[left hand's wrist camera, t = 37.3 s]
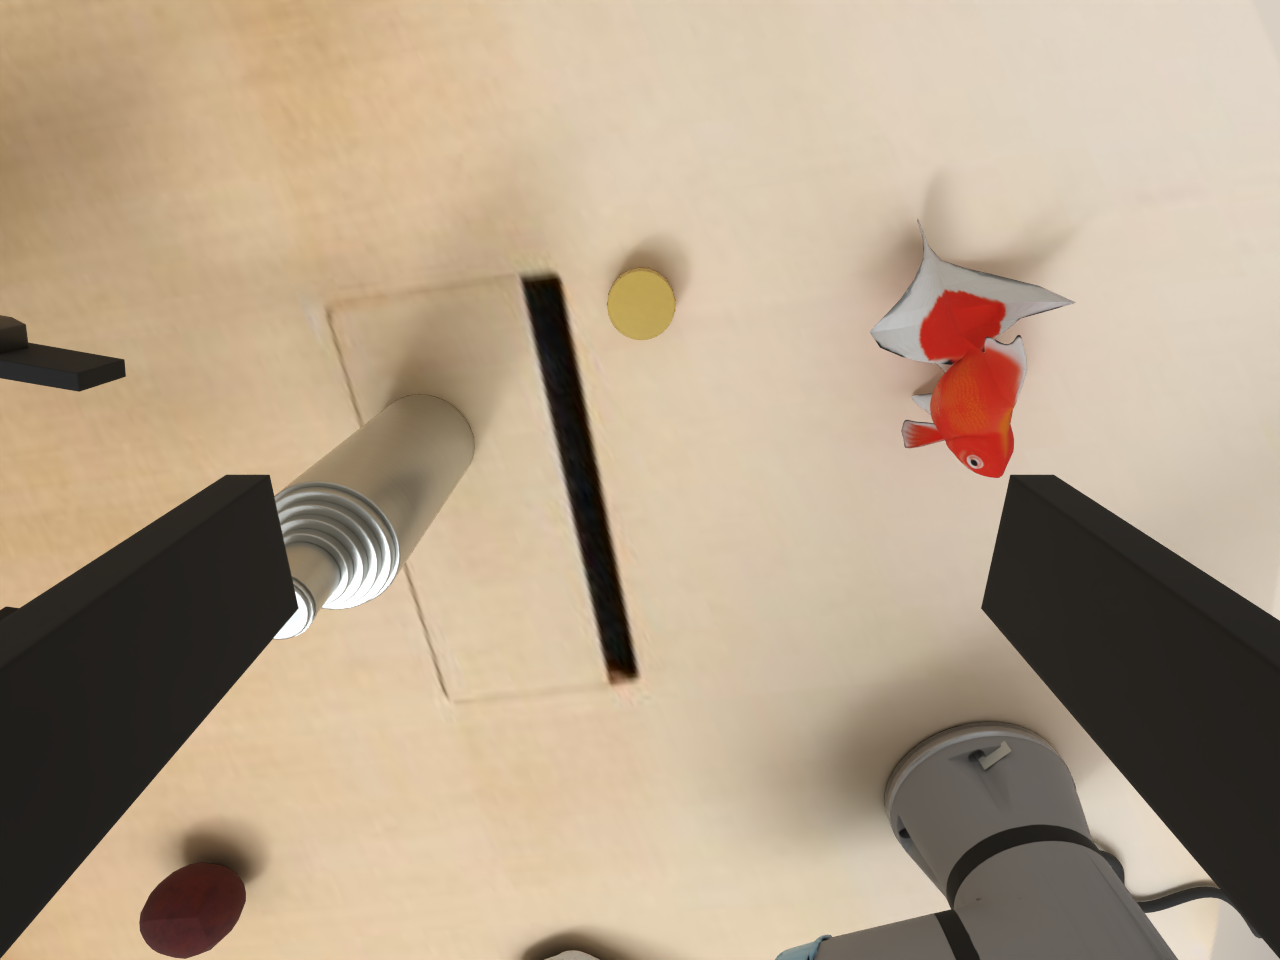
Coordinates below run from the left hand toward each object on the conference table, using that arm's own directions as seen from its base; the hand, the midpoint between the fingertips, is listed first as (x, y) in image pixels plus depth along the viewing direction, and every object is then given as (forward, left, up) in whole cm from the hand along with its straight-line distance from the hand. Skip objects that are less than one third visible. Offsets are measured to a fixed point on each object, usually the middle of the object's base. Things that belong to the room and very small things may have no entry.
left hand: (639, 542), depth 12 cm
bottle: (+9, +15, -34) cm, 38 cm away
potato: (+11, +64, -34) cm, 73 cm away
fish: (-18, -7, -34) cm, 39 cm away
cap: (0, 0, -32) cm, 32 cm away
